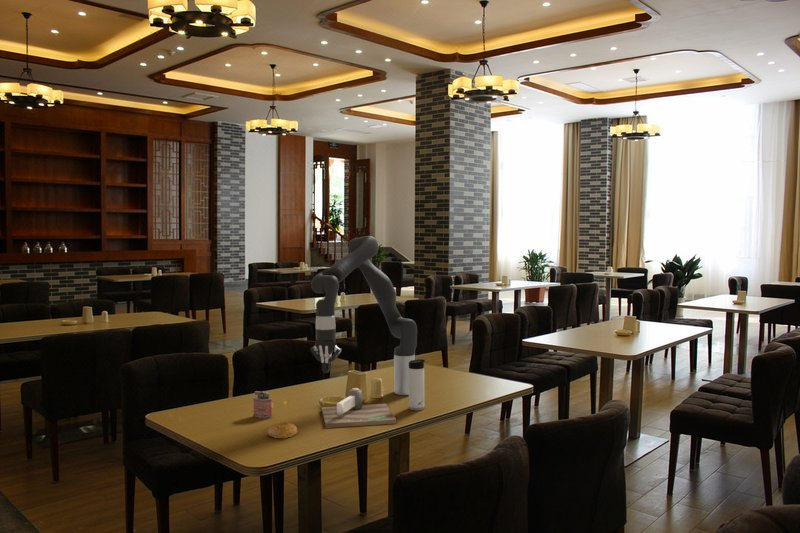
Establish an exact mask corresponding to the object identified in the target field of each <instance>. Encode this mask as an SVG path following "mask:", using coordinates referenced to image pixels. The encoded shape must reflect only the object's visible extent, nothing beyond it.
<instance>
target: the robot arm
mask: <svg viewBox="0 0 800 533" xmlns="http://www.w3.org/2000/svg"><path fill="white" fill-rule="evenodd" d="M348 249H349V250H348V251H349V253H348V254H347V255H344V256H343V257H341V258H339V259H338V260H337V261H335V262H334V263H333V264H332V265H331V266H330V267H328V268H326V269H324V270H322V271H320V272H318V273H317V274H315V275H314V276H313V278H312V279H311V284H310V287H311V290H312V291H313V292H314V293H315V294H325V296H324V299H323V298H322V299H320V300H317V301H316V303H315V315H316V316H315V340H316V341H315V343H314V346H312V347H310V348H309V350H310V353H311V354H312V356H314V358H315V359H316V361H317V362H320V363H321V371H322V373H323V374H327V373H329V372H330V371H331V363H332V362H335V360H336V359H337V358H338V356H339V355H341V353H342V350H343V349H342V348H340V347H338V345H337V342H336V338H337V336H336V335H337V334H336V332H337V331H336V328H337V327H336V313H335V312H336V310H335V304H336V301H337V297H338V292H339V289H340V283H341V282H343V280H345V279H346V278H347V277H348V276H349V275H350V274H351V273H352V272H354V270H355V269H357V268H359V270H360V272H362V275H363V276H364V279H365V280H366V282H367V284H368V286H369V289H370V290H371V292H372V295H373V296H374V299H375V300H376V302H377V304H378V306H379V308H380V310H381V312H382V314H383V316H384V318H385V321H386V323H387V324H386V325H388V329H389V331H390V333H391V335H392V336H393V337H394V338H396V339H399V341H400V342H399V345H397V346H396V347H394V350H393V363H394V364H393V368H394V369H393V372H394V373H393V376H394V380H393V382H394V383H393V384H394V387H393V388H394V392H393V393H394V394H395V395H398V396H409V362H410V361H412V360H416V348H417V347H418V346H417V345H418V326H417V323H416V321H415V320H413V319H411V318H405V317H402V315H401V314H400V312H399V309H398V308H397V293H396V292H397V290H396V289H395V287H394V285H393V283H392V280H391V279H390V278H389V277H388V276H387V275H386V273H384V272H383V271H382V270H380V269H379V268H378V267H377V266H375V265H374V264H373V262H372V261H371V260H370V259H371V258H373V257H375V256H376V255H377V253H378V251H379V242H378V241H377V239H376V237H374V236H372V235H364V236H360V237H354V238H352V239H351V240H350V241H349V242H348ZM333 352H334V353H333ZM332 354H333V355H332Z"/></svg>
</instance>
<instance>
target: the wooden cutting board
mask: <svg viewBox="0 0 800 533" xmlns="http://www.w3.org/2000/svg"><path fill="white" fill-rule="evenodd" d="M321 414H322V418H323V421H324V425H325V428H326V429H330V428H346V427H361V426H376V425H377V426H378V425H392V424H393V425H394V424H397V419H396V417H395V415H394V414H393V412H392V411H391V409H390V408H389V407H388V405H387V403H375V404H373V403H372V404H362V408H361V409H358V410H352V409H349V410H348V411H346V412H345V413H343V414H342V415H338V414H337V406H323V407H321Z"/></svg>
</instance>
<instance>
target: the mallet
mask: <svg viewBox="0 0 800 533" xmlns="http://www.w3.org/2000/svg"><path fill="white" fill-rule="evenodd" d="M362 394H363V391H362V389H360V388H358V387H353V388H351V389H349V390H348V397H345V398H344V399H342V400H341V401H339V402H337V403H336V407H337V414H338V415H342V414H343V413H345V412H346V411H348V410H349V409H352V410H358V409H361V408H362V405H363V395H362Z"/></svg>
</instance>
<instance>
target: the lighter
mask: <svg viewBox="0 0 800 533" xmlns="http://www.w3.org/2000/svg"><path fill="white" fill-rule="evenodd" d="M254 395H255V396H253V397H252V400H253V416H254V417H253V416H252V417H253V418H256V417H259V418H258V419H266V418H268V419H269V418H270V419H272V418H273V398H272V397H270V392H266V391H264V390H263V391H257V390H256V391H254ZM268 419H267V420H268Z"/></svg>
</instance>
